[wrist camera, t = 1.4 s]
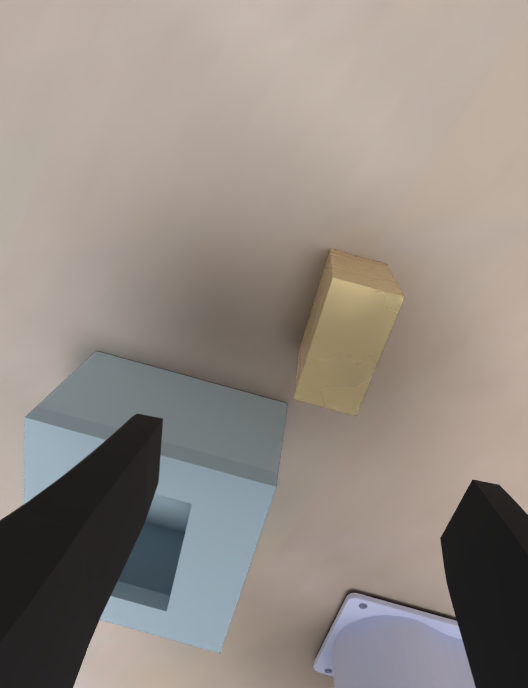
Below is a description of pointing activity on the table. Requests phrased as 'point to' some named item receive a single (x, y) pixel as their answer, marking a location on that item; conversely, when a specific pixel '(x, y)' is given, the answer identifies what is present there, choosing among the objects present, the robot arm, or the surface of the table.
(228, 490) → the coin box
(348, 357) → the tan rectangular block
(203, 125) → the table surface
